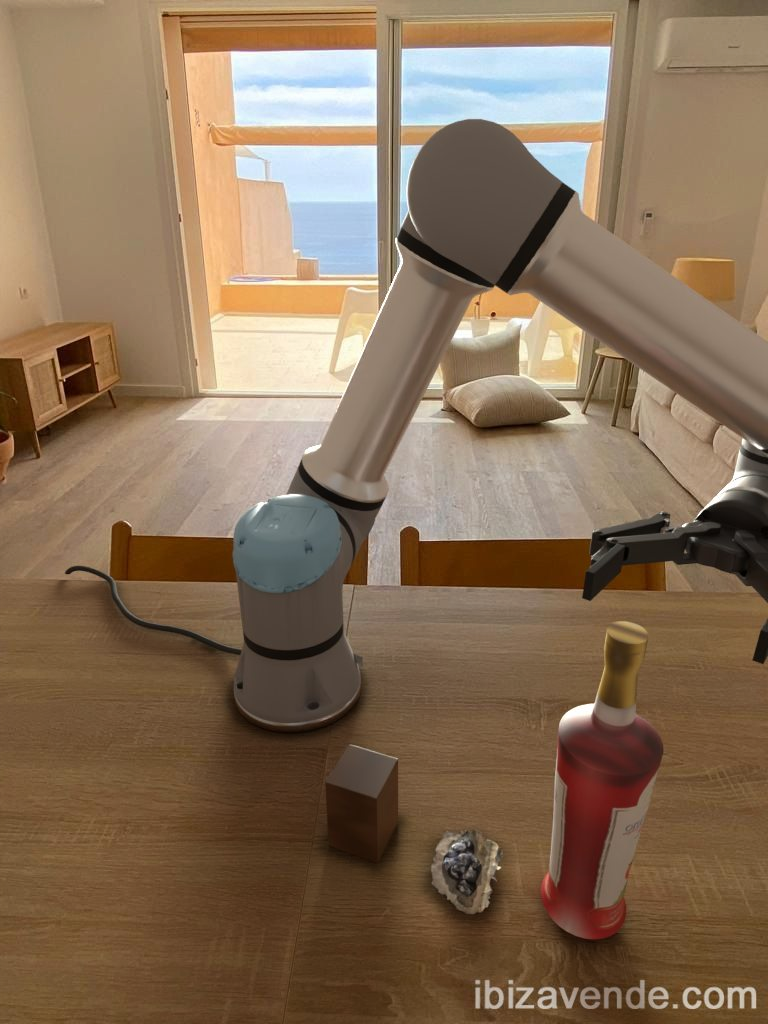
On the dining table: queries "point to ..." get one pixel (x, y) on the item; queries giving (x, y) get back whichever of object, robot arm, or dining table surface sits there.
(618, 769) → the liquor
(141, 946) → the dining table surface
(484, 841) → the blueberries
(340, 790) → the walnut block
